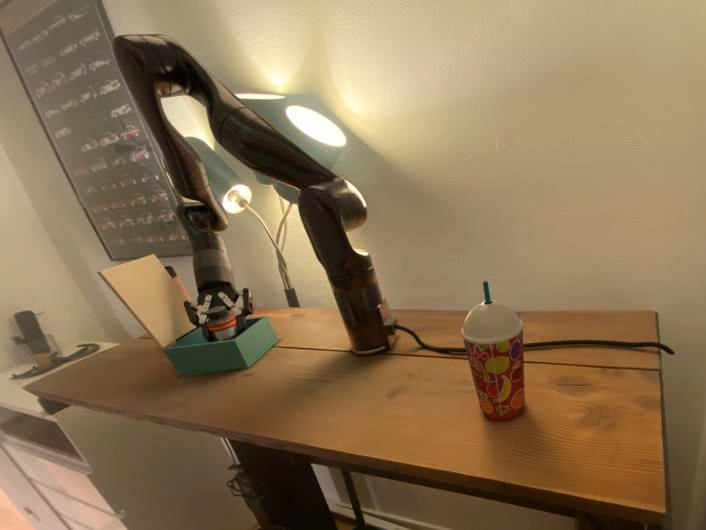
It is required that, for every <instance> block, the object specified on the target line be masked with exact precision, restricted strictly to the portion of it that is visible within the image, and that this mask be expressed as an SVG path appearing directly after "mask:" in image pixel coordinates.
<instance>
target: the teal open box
mask: <svg viewBox="0 0 706 530" xmlns="http://www.w3.org/2000/svg"><path fill="white" fill-rule="evenodd" d="M245 319H246V324H247V330H245V331H244V332H243V333H242V334H240V335H239V336H238V337H236V338H235V339H234V340H226V341H218V342H216V341H215V340H214V341H211V342H210V341H209V340H207V339H206V338H204V337H203V334H202V329H201V327H199V328H197V329H196V330H194V331H193V332H191V333H189V334H188V335H186V336H185V337H183V338H181V339H180V340H178V341H174V343H173V342H172V343H171V344H169V346H167V347H164V349H163V352H164V353H165V355H166V357H167V358H168V360H169V361H170V363H171V365H172V367H173V368H174V370H175V371H176V372H177V375H178V376H179V377H183V376H184V377H186V376H192V375H201V374H210V373H218V372H225V371H226V372H227V371H234V370H235V371H236V370H242V369H250V367H252V366H253V365H254V364H255V363H256V362H257V361H258V360H259V359H260V358H262V356H264V355H265V354H266V353H267V352H268V351H269V350H270V349H271V348H272V347H273V346H274V345H276V344H277V343H278V342H279V337H278V336H277V334H276V332H275V329H274V327H273V325H272V323H271V320H270V318H269V316H268V315H263V316H255V317H249V318H248V317H246V318H245Z"/></svg>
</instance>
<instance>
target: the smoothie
mask: <svg viewBox="0 0 706 530" xmlns="http://www.w3.org/2000/svg"><path fill="white" fill-rule="evenodd" d="M482 286H483V294H484V301H481V302H479V303H477V304H476V305H474V306H473V307H472V308H471V309H470V310H469V311H468V313H467V314H466V317H465V319H464V323H463V326H462V327H461V329H460V335H461V337H462V341H463V345H464V348H465V349H466V352H465V353H466V357H467V360H468V364H469V368H470V372H471V377H472V380H473V384H474V387H475V391H476V395H477V400H478V403H479V407H480V409H481V410H482V411H483V412H484V414H485V416H487V417H488V418H490V419H493V420H495V421H504V420H510V419H512V418H515V417H516V416H518V415H519V414H520V412H521V411H522V409H523V406H524V405H525V400H526V397H525V396H526V394H525V393H526V391H525V362H524V361H525V358H524V356H525V355H524V348H523V344H524V329H523V328H524V323H523V321H522V319H520V318H519V317H518V315H517V313H516V311H515V310H514V309H513V308H512V307H511V306H509V305H508V304H506V303H505V302H502V301H499V300H495V299H491V295H490V293H491V292H490V287H489V282H488V280H484V281H482Z"/></svg>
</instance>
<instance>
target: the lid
mask: <svg viewBox="0 0 706 530" xmlns="http://www.w3.org/2000/svg"><path fill="white" fill-rule="evenodd" d="M164 267H165V266H164V265H163V264H162V262H161V261H160V260H159V258H158V257H157V256H156V254H155V253H152V254H149V255H146V256H143V257H140V258H137V259H133V260H130V261H128V262H127V261H126V262H124V263H121V264H117V265H115V266H112V267H111V266H110V267H108V268H105V269H102V270H99V271H96V274H97V275H98V276H99V277H100V279H102V281H103V282H104V283H105V284H106V286H107V287H108V288H109V289H110V290H111V292H112V293H113V294H114V295H115V296H116V297H117V299H118V300H119V301H120V302H121V304H122V305H123V306H124V307H125V308H126V309H127V310H128V312H129V313H130V314H131V315H132V316H133V318H134V319H135V320H136V321H137V323H138V324H139V325H140V326H141V327H142V328H143V330H144V331H145V332H146V333H147V334H148V336H149V337H150V338H151V339H152V340H153V342H154V343H155V344H156V345H157V346H158V347H159V349H162V348H166V346H168V345H171V344H172V343H173V342H176V339H178V338H179V337H181V336H183V335H184V334H186V333H188V332H189V331H191V330H192V329H194V328H196V326H195V325H193V324H192V323H190V321H189V318H188V315H187V313H186V310H185V307H184V304H183V303H184V301H189V300H188V299H187V297H186V296H185V295H184V293H183V292H182V291H181V289H180V288H179V287H178V285H177V284H176V283H175V281H174V280H173V279H172V277H171V276H170V275H169V273H168V272H167V271H166V269H165V268H164ZM189 302H190V301H189ZM197 313H198V316H199V319H200V317H201V314H200V313H199V311H197Z"/></svg>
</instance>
